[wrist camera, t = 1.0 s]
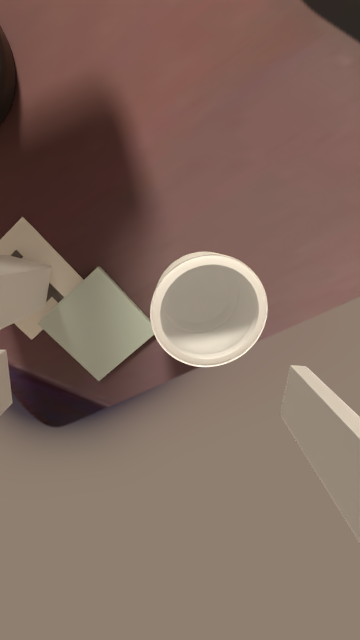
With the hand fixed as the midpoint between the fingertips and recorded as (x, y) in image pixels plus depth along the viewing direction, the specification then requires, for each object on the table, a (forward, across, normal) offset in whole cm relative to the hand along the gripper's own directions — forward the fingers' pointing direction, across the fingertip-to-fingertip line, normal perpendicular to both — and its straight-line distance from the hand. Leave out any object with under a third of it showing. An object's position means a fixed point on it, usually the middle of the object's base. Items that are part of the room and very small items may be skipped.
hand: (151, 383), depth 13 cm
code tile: (+27, -19, -1) cm, 33 cm away
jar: (+27, +5, 0) cm, 27 cm away
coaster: (+26, -9, -6) cm, 29 cm away
